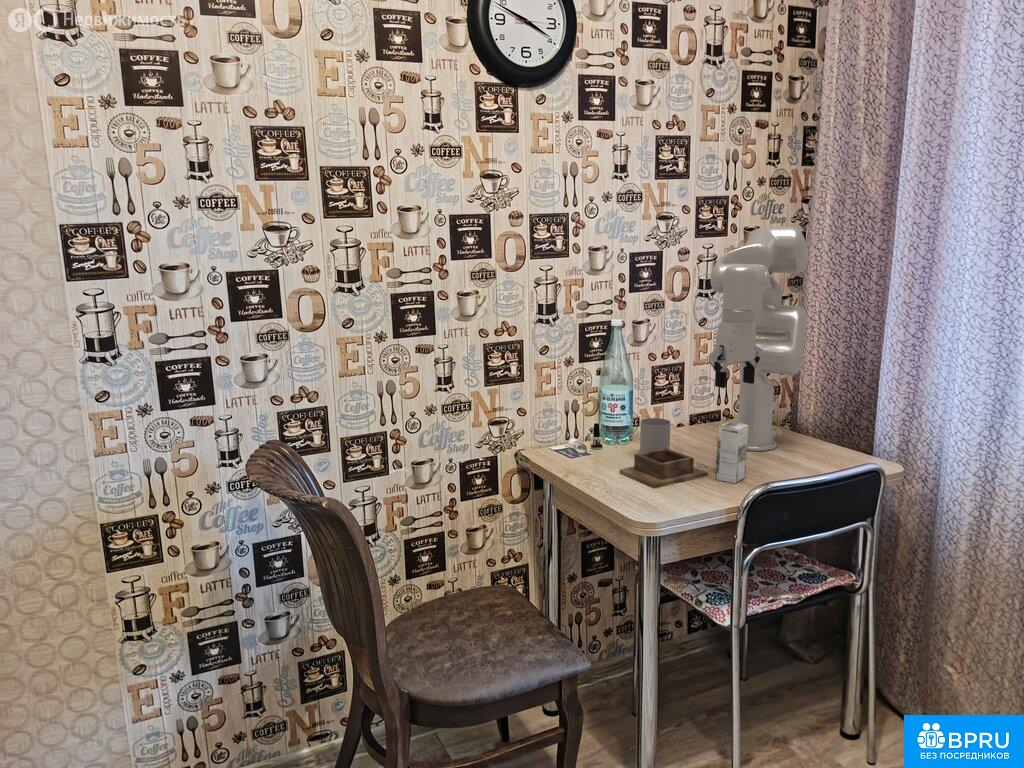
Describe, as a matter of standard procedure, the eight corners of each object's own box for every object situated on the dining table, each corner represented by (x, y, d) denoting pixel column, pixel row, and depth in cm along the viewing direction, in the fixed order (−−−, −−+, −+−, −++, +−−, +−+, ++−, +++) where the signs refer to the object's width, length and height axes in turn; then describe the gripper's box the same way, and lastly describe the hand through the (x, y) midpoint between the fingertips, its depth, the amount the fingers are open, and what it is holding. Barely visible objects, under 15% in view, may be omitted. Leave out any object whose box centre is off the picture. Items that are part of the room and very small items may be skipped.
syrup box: (724, 474, 198) (726, 420, 195) (745, 478, 194) (748, 424, 191) (714, 479, 193) (717, 425, 190) (736, 484, 190) (739, 428, 187)
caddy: (671, 461, 208) (671, 444, 207) (707, 475, 197) (708, 457, 196) (619, 473, 200) (619, 455, 199) (654, 488, 188) (654, 469, 187)
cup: (642, 460, 210) (643, 425, 208) (637, 451, 218) (637, 418, 216) (672, 459, 210) (673, 425, 208) (666, 451, 219) (666, 417, 217)
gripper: (751, 313, 193) (747, 379, 196) (700, 317, 184) (698, 386, 187) (774, 316, 186) (770, 383, 190) (723, 320, 178) (720, 391, 181)
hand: (734, 385), depth 188 cm, fingers open, 9 cm apart
